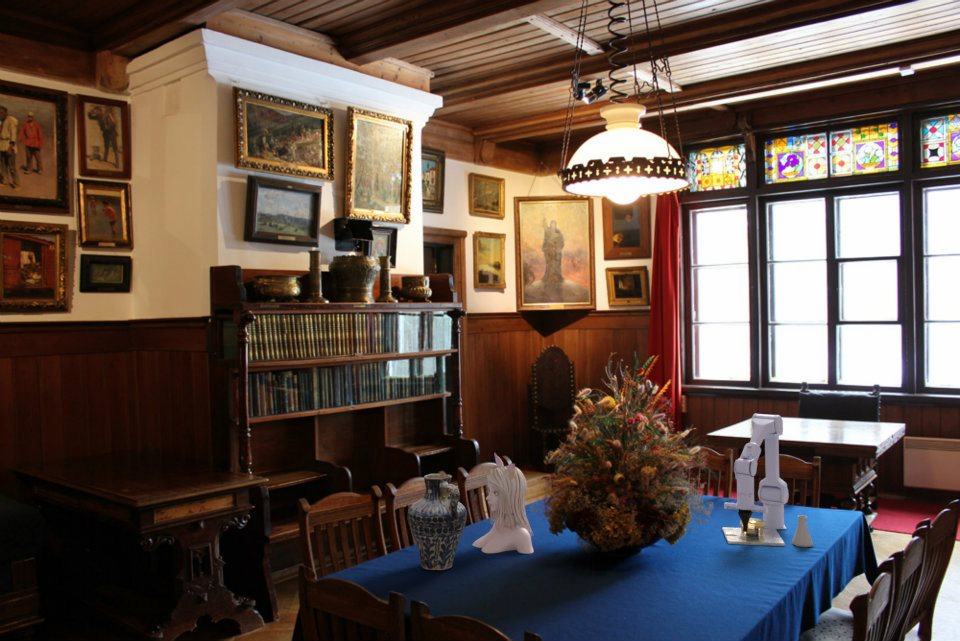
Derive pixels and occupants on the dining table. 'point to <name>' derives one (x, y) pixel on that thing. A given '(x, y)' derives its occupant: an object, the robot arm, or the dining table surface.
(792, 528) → the dining table surface
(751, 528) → the gold bar with disc
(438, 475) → the jug
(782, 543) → the base plate
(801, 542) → the flask
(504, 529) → the figurine bust
